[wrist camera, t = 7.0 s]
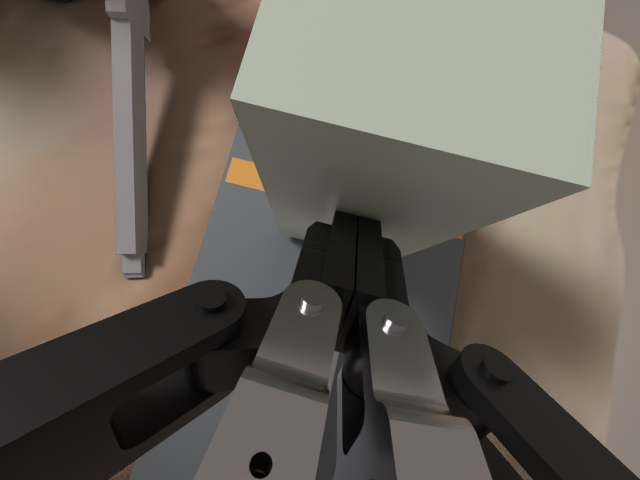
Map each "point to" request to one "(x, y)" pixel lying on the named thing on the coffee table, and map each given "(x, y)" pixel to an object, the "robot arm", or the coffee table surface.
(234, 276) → the pipe rig
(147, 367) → the robot arm
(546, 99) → the sage green block
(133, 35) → the caliper
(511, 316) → the coffee table surface
